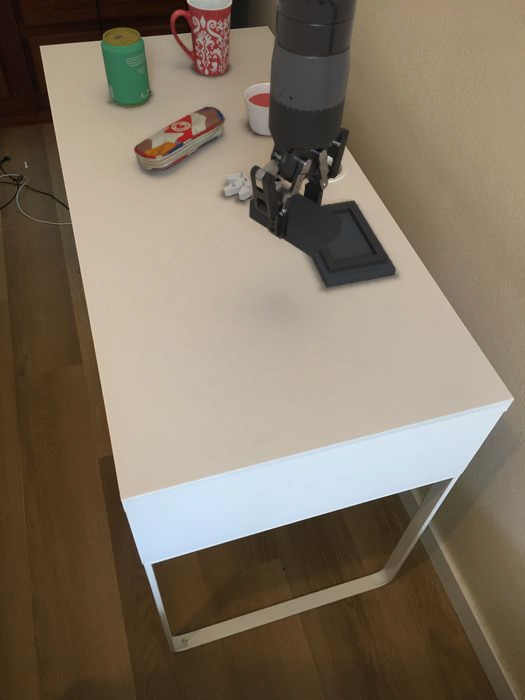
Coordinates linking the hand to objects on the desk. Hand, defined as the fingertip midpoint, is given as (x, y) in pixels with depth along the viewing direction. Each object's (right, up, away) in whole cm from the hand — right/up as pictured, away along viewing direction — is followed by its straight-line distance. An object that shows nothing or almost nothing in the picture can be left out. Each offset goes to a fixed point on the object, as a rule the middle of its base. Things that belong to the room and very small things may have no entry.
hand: (294, 222), depth 69 cm
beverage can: (-31, +35, +46) cm, 66 cm away
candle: (-3, +28, +42) cm, 50 cm away
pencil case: (-18, +21, +36) cm, 45 cm away
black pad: (0, 0, 0) cm, 0 cm away
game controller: (-5, +13, +30) cm, 33 cm away
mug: (-17, +46, +55) cm, 73 cm away
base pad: (+8, +1, +21) cm, 23 cm away
